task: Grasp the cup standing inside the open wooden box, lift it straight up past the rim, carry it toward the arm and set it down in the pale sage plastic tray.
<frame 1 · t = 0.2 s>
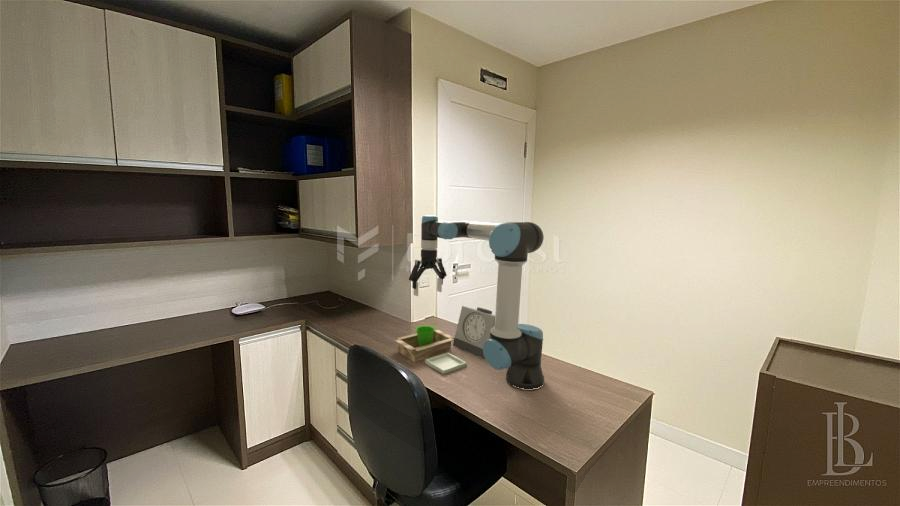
hand: (427, 293, 172), 28 cm above the table, fingers open, 13 cm apart
wooden box: (424, 351, 173), on the table
tray: (445, 364, 160), on the table
cup: (424, 351, 174), resting in wooden box
alarm clock: (478, 348, 180), on the table
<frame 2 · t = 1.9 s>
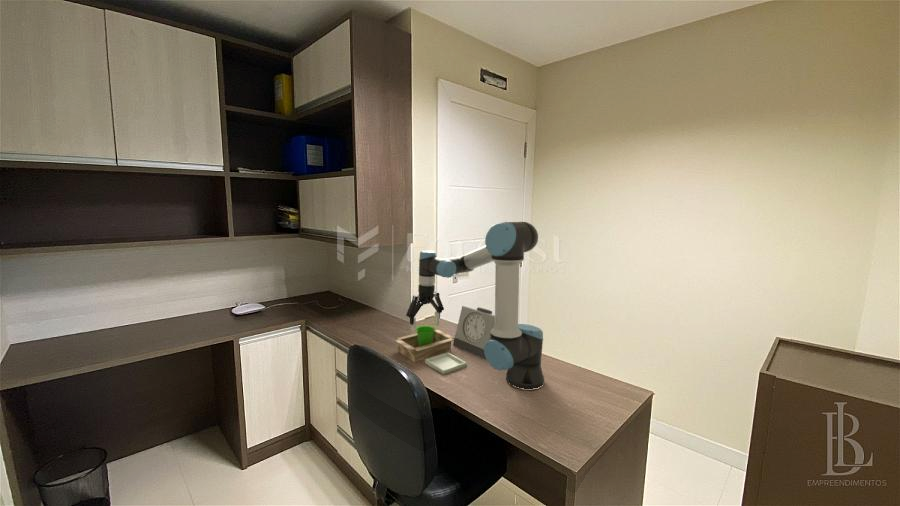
hand: (425, 327, 172), 11 cm above the table, fingers open, 13 cm apart
nothing on the table moved.
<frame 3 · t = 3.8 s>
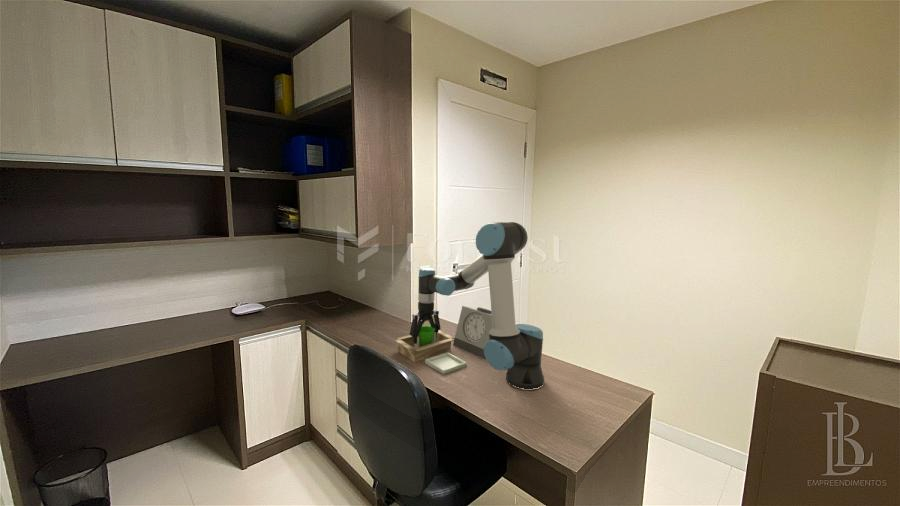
hand: (425, 347, 173), 2 cm above the table, fingers closed on cup, 9 cm apart
cup: (424, 351, 174), resting in wooden box, touching gripper
everything else where it was.
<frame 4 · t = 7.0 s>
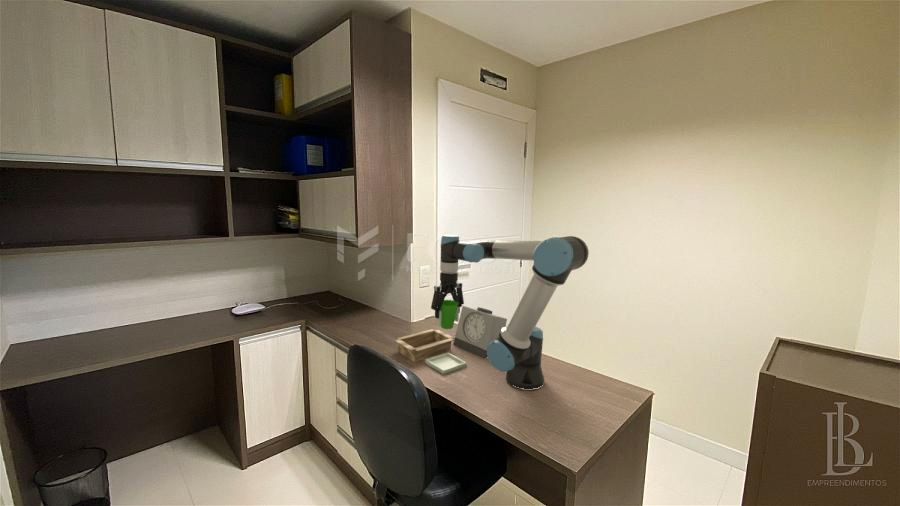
hand: (447, 322, 157), 19 cm above the table, fingers closed on cup, 9 cm apart
cup: (447, 327, 157), point 17 cm above the table, touching gripper
everything else where it was.
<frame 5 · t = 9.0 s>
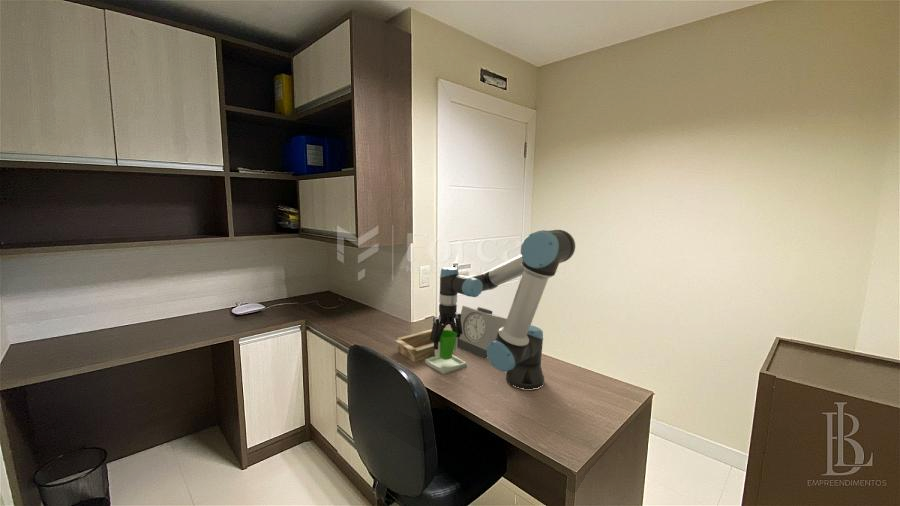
hand: (445, 353, 159), 5 cm above the table, fingers closed on cup, 9 cm apart
cup: (445, 357, 160), point 3 cm above the table, touching gripper
everything else where it was.
when the fingers open (4 cm above the table, at t = 10.2 s): cup drops 1 cm, resting on tray.
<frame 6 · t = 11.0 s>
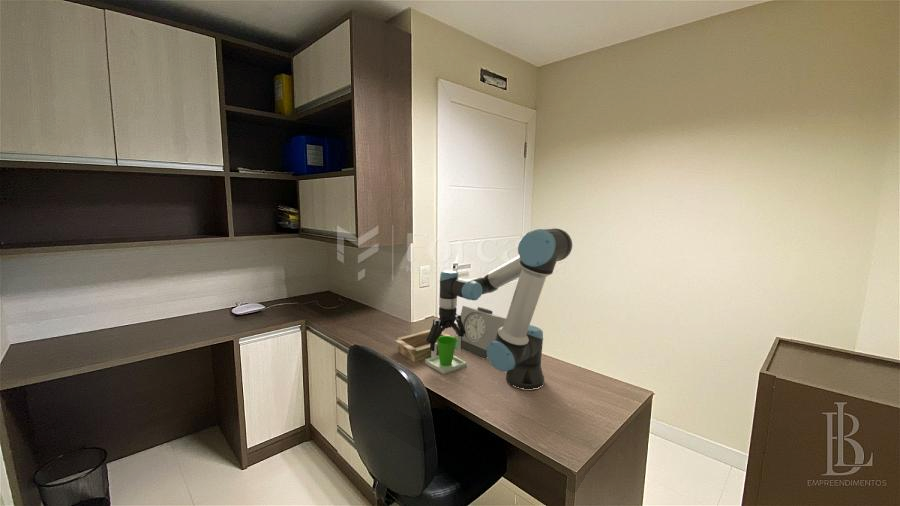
hand: (446, 353, 159), 5 cm above the table, fingers open, 13 cm apart
cup: (445, 363, 160), resting on tray
everything else where it was.
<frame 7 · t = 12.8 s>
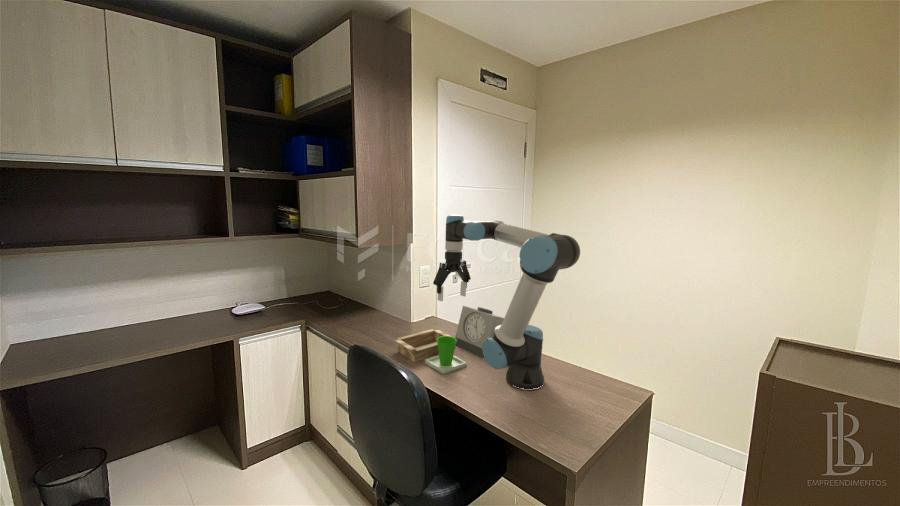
hand: (451, 298, 161), 29 cm above the table, fingers open, 13 cm apart
nothing on the table moved.
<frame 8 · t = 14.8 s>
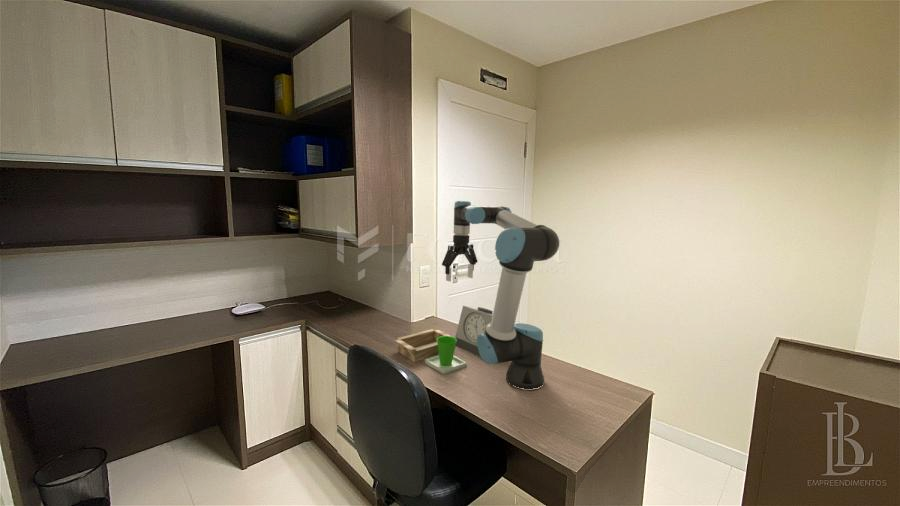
hand: (459, 279, 172), 35 cm above the table, fingers open, 13 cm apart
nothing on the table moved.
at the end: cup inside the target area on the tray (0.0 cm from its centre), point 0.4 cm above the tray's base; cup tilted 0°; the gripper is holding nothing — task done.
